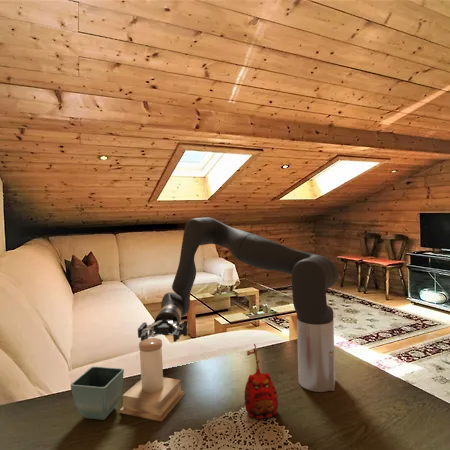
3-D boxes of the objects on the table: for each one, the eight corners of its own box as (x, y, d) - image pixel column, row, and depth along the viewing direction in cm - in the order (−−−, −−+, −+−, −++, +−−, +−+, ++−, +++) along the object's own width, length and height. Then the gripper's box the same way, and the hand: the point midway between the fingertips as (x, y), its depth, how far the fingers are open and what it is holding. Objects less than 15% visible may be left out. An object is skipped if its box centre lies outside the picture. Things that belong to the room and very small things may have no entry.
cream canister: (168, 382, 84) (165, 339, 83) (156, 394, 79) (154, 348, 78) (149, 379, 86) (147, 337, 85) (136, 391, 81) (134, 345, 80)
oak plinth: (184, 394, 86) (183, 379, 86) (161, 421, 75) (160, 404, 75) (146, 387, 90) (145, 373, 89) (119, 412, 79) (118, 396, 79)
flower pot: (107, 427, 74) (104, 387, 74) (71, 423, 76) (69, 384, 75) (126, 403, 83) (124, 368, 82) (94, 401, 84) (92, 366, 84)
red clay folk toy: (249, 424, 73) (246, 356, 72) (241, 405, 80) (239, 343, 79) (282, 418, 75) (280, 352, 74) (271, 400, 82) (269, 340, 81)
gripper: (145, 308, 109) (132, 326, 93) (190, 306, 109) (184, 324, 93) (147, 331, 109) (134, 353, 93) (191, 329, 109) (185, 351, 93)
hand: (159, 338), depth 93 cm, fingers open, 8 cm apart
